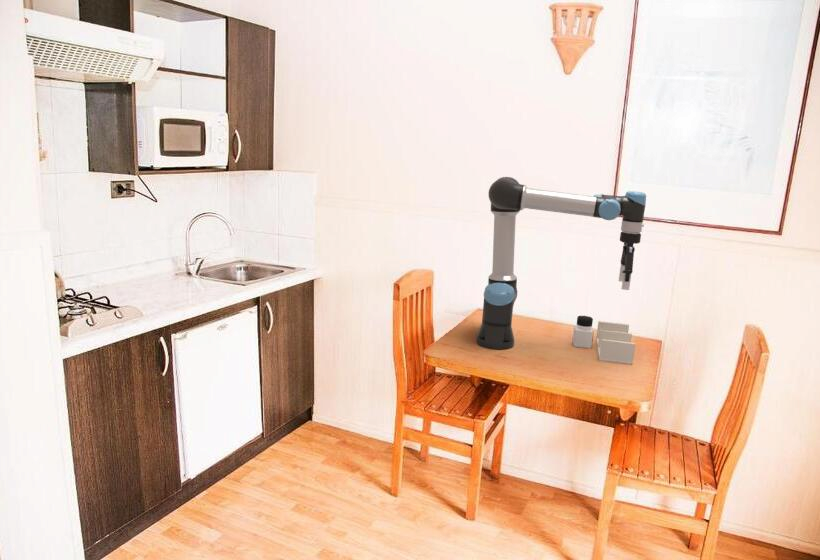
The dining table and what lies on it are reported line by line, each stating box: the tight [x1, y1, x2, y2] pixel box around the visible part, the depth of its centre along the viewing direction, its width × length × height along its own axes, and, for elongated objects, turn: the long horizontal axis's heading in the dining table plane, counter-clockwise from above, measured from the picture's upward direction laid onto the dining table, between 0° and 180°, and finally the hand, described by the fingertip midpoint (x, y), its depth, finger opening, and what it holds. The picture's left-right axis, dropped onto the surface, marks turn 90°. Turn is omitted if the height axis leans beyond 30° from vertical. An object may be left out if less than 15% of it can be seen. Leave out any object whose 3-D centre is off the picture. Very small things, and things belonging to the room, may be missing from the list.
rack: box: [595, 320, 636, 365], centre depth 245 cm, size 12×25×8 cm, turn 166°
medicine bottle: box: [572, 314, 594, 350], centre depth 250 cm, size 7×7×12 cm
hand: (623, 285), depth 245 cm, fingers open, 13 cm apart
